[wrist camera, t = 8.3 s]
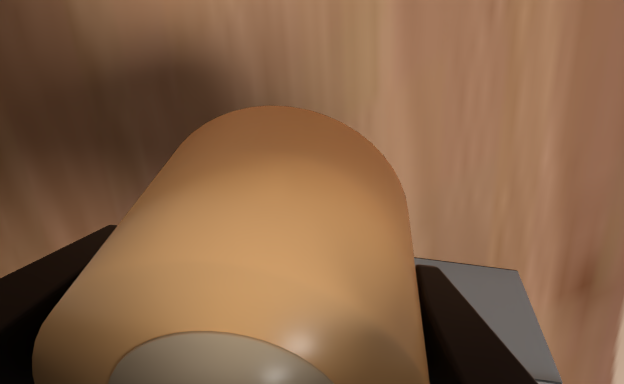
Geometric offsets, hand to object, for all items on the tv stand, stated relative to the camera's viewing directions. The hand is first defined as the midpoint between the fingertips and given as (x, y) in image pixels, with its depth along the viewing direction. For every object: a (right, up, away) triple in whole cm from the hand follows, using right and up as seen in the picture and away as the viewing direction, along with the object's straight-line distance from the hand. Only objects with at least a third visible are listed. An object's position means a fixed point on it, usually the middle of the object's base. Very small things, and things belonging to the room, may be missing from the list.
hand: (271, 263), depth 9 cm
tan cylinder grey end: (0, +1, +1) cm, 1 cm away
